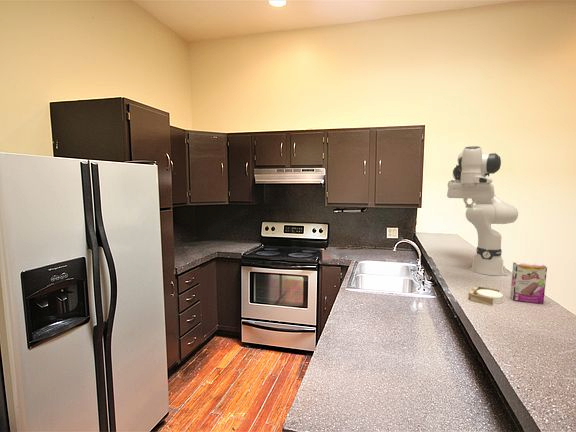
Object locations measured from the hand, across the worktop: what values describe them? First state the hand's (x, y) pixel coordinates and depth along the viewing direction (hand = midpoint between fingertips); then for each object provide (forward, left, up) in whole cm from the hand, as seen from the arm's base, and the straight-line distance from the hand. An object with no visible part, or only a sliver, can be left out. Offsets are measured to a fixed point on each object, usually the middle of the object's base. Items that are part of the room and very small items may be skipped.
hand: (469, 207), depth 157 cm
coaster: (+16, +13, -40) cm, 45 cm away
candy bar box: (+7, +26, -39) cm, 48 cm away
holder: (+16, +7, -39) cm, 43 cm away
